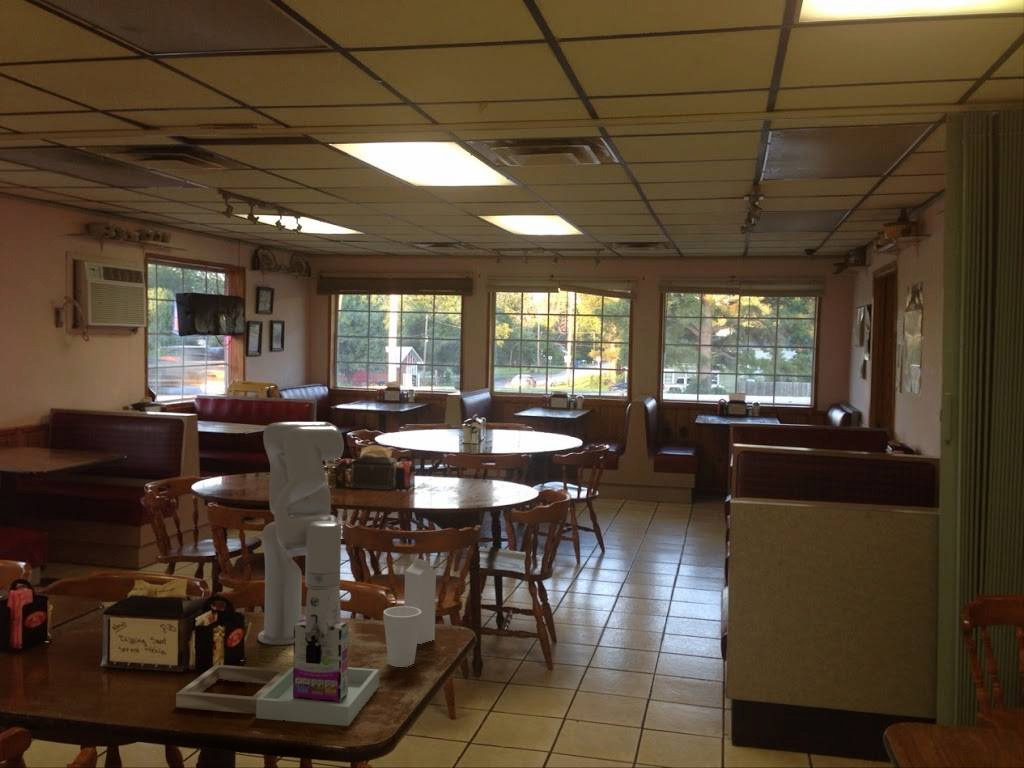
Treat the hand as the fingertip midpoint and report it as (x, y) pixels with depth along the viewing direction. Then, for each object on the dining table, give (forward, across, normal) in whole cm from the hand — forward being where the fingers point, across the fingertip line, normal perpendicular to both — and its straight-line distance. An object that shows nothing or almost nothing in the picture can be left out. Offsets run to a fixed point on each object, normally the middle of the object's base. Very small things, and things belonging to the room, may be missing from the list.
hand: (321, 655), depth 194 cm
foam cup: (+10, +27, -11) cm, 31 cm away
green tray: (+10, 0, 0) cm, 10 cm away
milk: (+10, +45, -11) cm, 47 cm away
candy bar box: (+9, 0, 0) cm, 10 cm away
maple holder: (+10, 0, +20) cm, 22 cm away
